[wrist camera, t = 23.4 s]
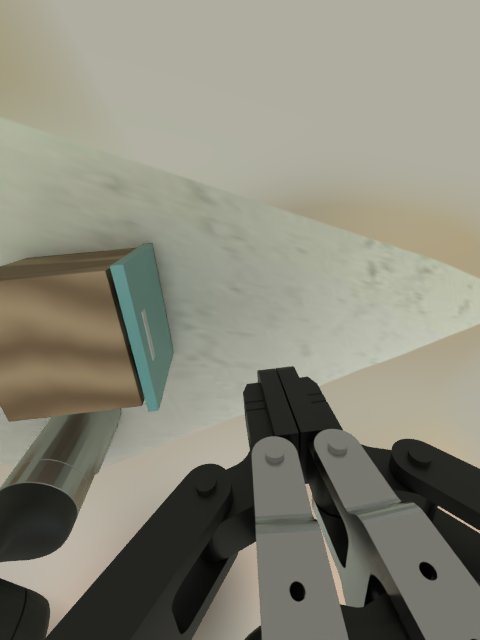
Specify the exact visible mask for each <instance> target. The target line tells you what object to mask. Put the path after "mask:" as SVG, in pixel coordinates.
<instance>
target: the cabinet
mask: <svg viewBox="0 0 480 640" xmlns="http://www.w3.org/2000/svg"><path fill="white" fill-rule="evenodd" d="M135 249H136V248H131V249H120V250H110V251H99V252H88V253H77V254H66V255H55V256H44V257H34V258H26V259H23V260H20V261H17V262H13V263H10V264H7V265H4V266H1V267H0V406H1V407H2V409H3V411H4V413H5V415H6V417H7V419H8V421H9V422H10V421H19V420H27V419H36V418H44V417H52V416H61V415H69V414H77V413H86V412H94V411H103V410H111V409H119V408H128V407H136V406H142V405H143V402H144V399H145V397H144V394H143V390H142V386H141V382H140V378H139V375H138V371H137V367H136V363H135V360H134V356H133V354H132V353H131V350H130V346H129V342H128V338H127V335H126V331H125V327H124V323H123V320H122V316H121V312H120V309H119V305H118V301H117V297H116V294H115V290H114V286H113V282H114V280H113V277H112V273H111V269H110V265H112V264H113V263H115V262H117V261H118V260H120V259H121V258H123V257H124V256H126V255H127V254H129V253H130V252H132V251H133V250H135Z"/></svg>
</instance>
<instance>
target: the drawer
mask: <svg viewBox="0 0 480 640" xmlns="http://www.w3.org/2000/svg"><path fill="white" fill-rule="evenodd" d="M110 269H111V273H112V277H113V280H114V282H113V286H114V290H115V294H117V295H118V299H119V303H120V307H121V310H122V314H123V318H124V322H125V326H126V329H127V333H128V337H127V338H128V342H129V346H130V350H131V353H132V354H133V356H134V360H135V363H136V367H137V371H138V375H139V378H140V382H141V386H142V390H143V394H144V397H145V401H146V405H147V409H148V411H155V410H159V407H160V403H161V399H162V395H163V391H164V387H165V384H166V380H167V376H168V372H169V368H170V364H171V360H172V356H173V347H172V342H171V337H170V332H169V327H168V322H167V317H166V312H165V307H164V302H163V297H162V292H161V287H160V282H159V277H158V272H157V267H156V262H155V256H154V251H153V246H152V243H151V244H142V245H141V246H139V247H138V248H136V249H135V250H133V251H132V252H130V253H129V254H127V255H126V256H124V257H123V258H121V259H120V260H118V261H117V262H115V263H113V264H112V265H110Z"/></svg>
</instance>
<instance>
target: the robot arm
mask: <svg viewBox="0 0 480 640" xmlns="http://www.w3.org/2000/svg"><path fill="white" fill-rule="evenodd" d="M257 374H258V383H252V384H247V385H246V387H245V390H244V392H243V397H244V408H245V419H246V427H247V433H248V440H249V447H250V452H249V453H248V455H247V457H246V458H245V459H244V460H243V461H242V462H240V463H239V464H237V465H235V466H233V467H231V468H229V469H227V470H225V469H224V468H223V467H221V466H219V465H216V464H205V465H201V466H198V467H197V468H195V469H193V470H192V471H191V472H190V473H189V474H188V475H187V476H186V477H185V478H184V479H183V481H182V482H181V483H180V484H179V485H178V486H177V487H176V489H175V490H174V491H173V492H172V493H171V494H170V495H169V497H168V498H167V499H166V500H165V501H164V502H163V503H162V505H161V506H160V507H159V508H158V509H157V510H156V512H155V513H154V514H153V515H152V516H151V517H150V518H149V520H148V521H147V522H146V523H145V524H144V525H143V527H142V528H141V529H140V530H139V531H138V533H136V535H135V536H134V537H133V538H132V539H131V540H130V541H129V543H128V544H127V545H126V546H125V547H124V549H123V550H122V551H121V552H120V553H119V554H118V555H117V556H116V558H115V559H114V560H113V561H112V562H111V563H110V565H109V566H108V567H107V568H106V569H105V570H104V572H103V573H102V574H101V575H100V576H99V577H98V578H97V580H96V581H95V582H94V583H93V584H92V585H91V587H90V588H89V589H88V590H87V591H86V592H85V593H84V595H83V596H82V597H81V598H80V599H79V600H78V601H77V603H76V604H75V605H74V606H73V607H72V608H71V609H70V611H69V612H68V613H67V614H66V615H65V616H64V618H63V619H62V620H61V621H60V622H59V623H58V625H57V626H56V627H55V628H54V629H53V630H52V631H51V632H50V634H49V635H48V636H47V637H46V634H47V629H48V625H49V619H50V608H49V603H48V601H47V599H45V598H44V597H43V596H42V595H40V594H38V593H37V592H34V591H32V590H30V589H27V588H24V587H22V586H19V585H16V584H14V583H11V582H9V581H6V580H3V579H1V578H0V640H191V639H192V637H193V636H194V634H195V632H196V630H197V628H198V626H199V625H200V623H201V621H202V619H203V617H204V616H205V614H206V612H207V610H208V608H209V606H210V604H211V603H212V601H213V599H214V597H215V595H216V594H217V592H218V590H219V588H220V586H221V585H222V583H223V581H224V579H225V577H226V576H227V574H228V572H229V570H230V568H231V566H232V564H233V563H234V561H235V559H236V557H237V555H238V552H239V551H240V550H242V549H244V548H245V547H247V546H249V545H251V544H252V543H254V542H256V545H257V563H258V579H259V596H260V614H261V626H259V627H258V628H256V629H255V630H254V631H253V632H252V633H250V634H249V635H248V636H247V637H246V638H245V640H480V533H478V532H477V531H475V530H473V529H472V528H470V527H468V526H467V525H465V524H463V523H462V522H460V521H458V520H457V519H455V518H453V517H452V516H450V515H448V514H447V513H445V512H443V511H442V510H440V509H438V508H437V507H438V506H440V507H441V508H443V509H445V510H446V511H448V512H450V513H451V514H453V515H455V516H456V517H458V518H460V519H461V520H463V521H465V522H466V523H468V524H470V525H471V526H473V527H475V528H476V529H478V530H480V469H479V468H477V467H475V466H472V465H470V464H468V463H466V462H464V461H462V460H460V459H458V458H456V457H454V456H452V455H450V454H447V453H446V452H443V451H441V450H439V449H437V448H435V447H433V446H431V445H429V444H427V443H424V442H422V441H418V440H414V439H402V440H399V441H397V442H395V443H394V445H393V446H392V450H386V449H379V448H372V447H367V446H364V445H361V444H360V443H359V442H358V440H357V439H356V438H355V437H354V436H352V435H351V434H349V433H347V432H345V431H343V429H342V428H341V426H340V424H339V422H338V420H337V419H336V417H335V415H334V414H333V411H332V410H331V408H330V406H329V404H328V403H327V402H326V399H325V397H324V395H322V392H321V390H320V388H319V386H318V385H317V383H315V382H314V381H313V380H311V379H310V378H309V377H302V378H299V376H298V374H297V372H296V370H295V368H294V367H293V366H292V367H283V368H276V369H266V370H258V372H257ZM120 414H121V408H119V409H111V410H103V411H94V412H86V413H77V414H69V415H61V416H52V418H51V419H50V421H49V422H48V423H47V425H46V426H45V427H44V429H43V430H42V431H41V433H40V434H39V435H38V437H37V438H36V440H35V441H34V442H33V444H32V445H31V446H30V448H29V449H28V450H27V452H26V453H25V455H24V456H23V457H22V459H21V460H20V461H19V463H18V464H17V465H16V467H15V468H14V470H13V471H12V472H11V474H10V475H9V476H8V478H7V479H6V481H5V482H4V483H3V485H2V486H1V488H0V562H6V561H18V560H30V559H36V558H40V557H43V556H46V555H48V554H51V553H52V552H54V551H56V550H57V549H58V548H60V547H61V546H62V545H63V543H64V542H65V541H66V540H67V538H68V536H69V534H70V532H71V530H72V528H73V525H74V523H75V521H76V518H77V516H78V513H79V511H80V509H81V506H82V504H83V502H84V499H85V497H86V495H87V492H88V490H89V487H90V485H91V483H92V480H93V478H94V476H95V474H97V473H98V472H99V470H100V468H101V465H102V463H103V461H104V458H105V456H106V453H107V451H108V449H109V446H110V444H111V441H112V439H113V437H114V434H115V432H116V429H117V427H118V426H117V422H118V420H119V418H120ZM308 483H309V486H310V489H311V491H312V507H313V510H314V512H315V515H316V517H317V520H318V521H317V520H316V519H314V518H313V515H312V511H311V507H310V503H309V498H308V494H307V491H306V486H305V484H308ZM318 522H319V523H318ZM319 525H320V526H319ZM320 527H321V529H320ZM321 530H322V532H323V535H324V537H325V540H326V542H327V545H328V547H329V550H330V552H331V555H332V557H333V560H334V562H335V565H336V567H337V570H338V573H339V575H340V579H341V583H342V588H343V594H344V598H345V602H346V605H340V604H339V599H338V596H337V592H336V588H335V584H334V580H333V576H332V572H331V568H330V564H329V560H328V556H327V552H326V548H325V544H324V540H323V537H322V533H321Z"/></svg>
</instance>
